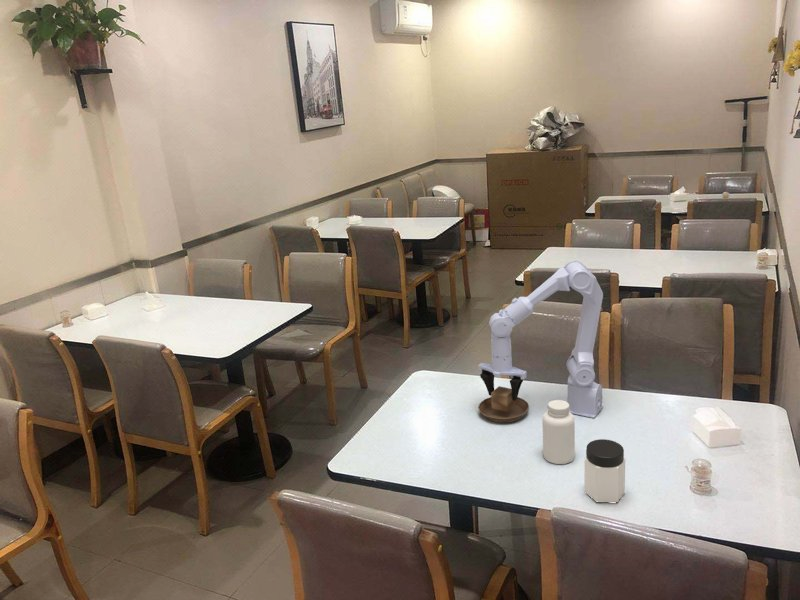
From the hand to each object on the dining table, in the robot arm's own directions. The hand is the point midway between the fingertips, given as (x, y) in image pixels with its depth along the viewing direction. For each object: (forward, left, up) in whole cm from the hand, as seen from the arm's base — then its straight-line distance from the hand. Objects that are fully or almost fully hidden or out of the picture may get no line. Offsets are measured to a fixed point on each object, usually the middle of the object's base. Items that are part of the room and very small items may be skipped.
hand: (503, 396), depth 186 cm
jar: (-38, +25, -6) cm, 46 cm away
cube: (0, 0, -3) cm, 3 cm away
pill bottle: (-23, +15, -6) cm, 28 cm away
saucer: (0, 0, -6) cm, 6 cm away
